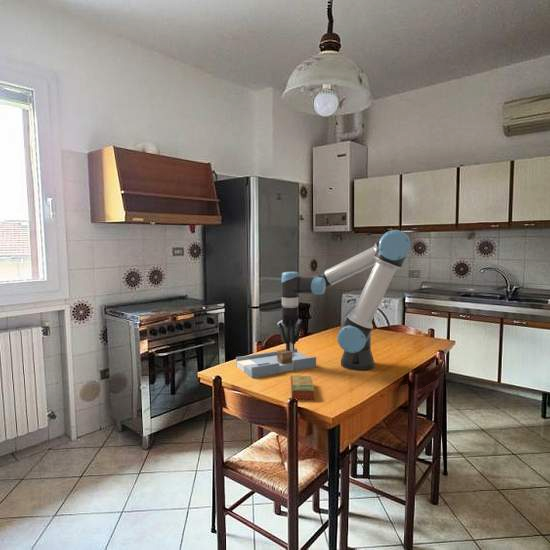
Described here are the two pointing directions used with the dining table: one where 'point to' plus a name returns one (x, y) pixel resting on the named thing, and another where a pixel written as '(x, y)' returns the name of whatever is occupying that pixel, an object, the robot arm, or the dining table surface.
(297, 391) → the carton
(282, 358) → the block
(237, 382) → the dining table surface
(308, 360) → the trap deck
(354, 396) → the dining table surface
